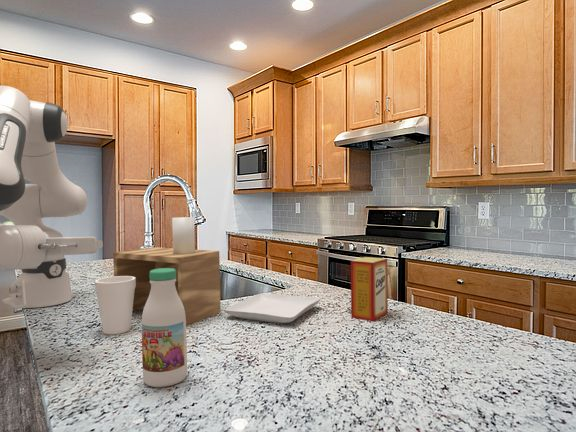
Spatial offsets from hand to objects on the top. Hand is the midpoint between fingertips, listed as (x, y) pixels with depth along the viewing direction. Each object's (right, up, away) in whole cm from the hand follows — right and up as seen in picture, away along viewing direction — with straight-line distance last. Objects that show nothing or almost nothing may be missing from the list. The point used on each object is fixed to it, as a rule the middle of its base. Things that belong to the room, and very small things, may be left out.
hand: (86, 244), depth 91 cm
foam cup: (+4, -22, +8) cm, 24 cm away
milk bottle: (+25, -23, -20) cm, 40 cm away
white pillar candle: (+18, -4, +18) cm, 26 cm away
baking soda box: (+70, -21, +17) cm, 75 cm away
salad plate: (+43, -22, +21) cm, 53 cm away
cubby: (+12, -22, +22) cm, 33 cm away
